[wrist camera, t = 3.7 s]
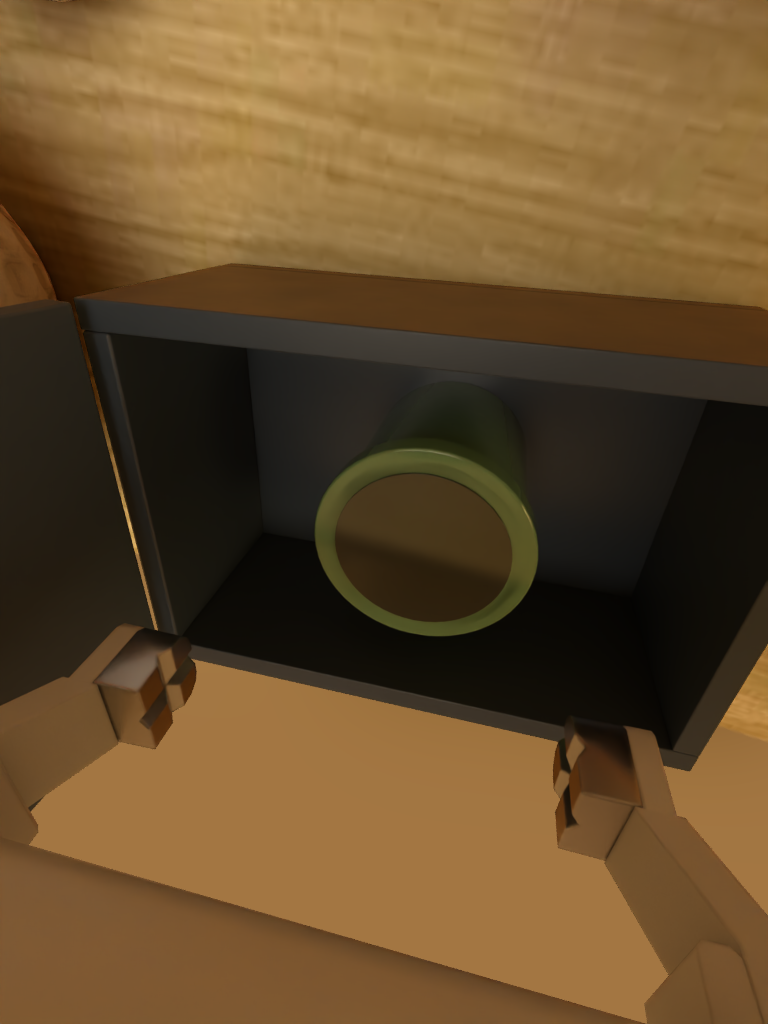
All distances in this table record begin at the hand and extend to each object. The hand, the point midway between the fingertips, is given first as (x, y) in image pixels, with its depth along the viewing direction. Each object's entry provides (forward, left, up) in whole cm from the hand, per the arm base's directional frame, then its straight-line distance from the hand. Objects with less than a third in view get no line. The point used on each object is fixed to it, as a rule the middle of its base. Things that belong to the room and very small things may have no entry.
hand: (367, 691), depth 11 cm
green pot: (0, 0, -12) cm, 12 cm away
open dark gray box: (0, 0, -13) cm, 13 cm away
